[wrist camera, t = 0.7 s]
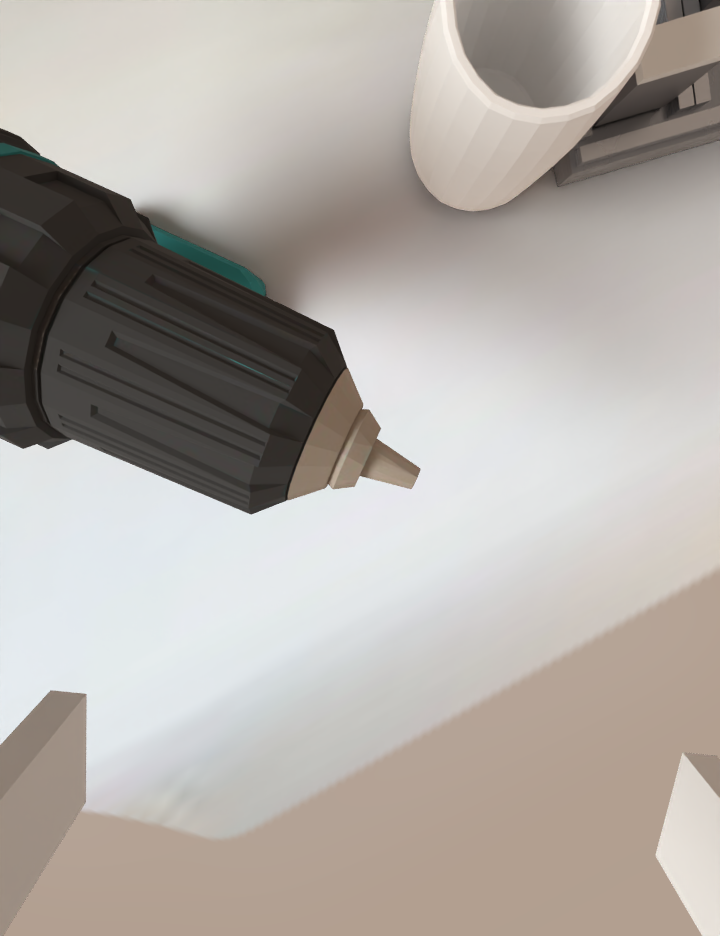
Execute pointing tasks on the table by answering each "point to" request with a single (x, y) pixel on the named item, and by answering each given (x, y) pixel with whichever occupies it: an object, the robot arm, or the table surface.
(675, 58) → the block
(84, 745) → the robot arm
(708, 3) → the block
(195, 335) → the power drill
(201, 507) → the table surface
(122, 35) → the table surface
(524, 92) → the cup
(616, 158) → the panel
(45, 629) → the table surface
